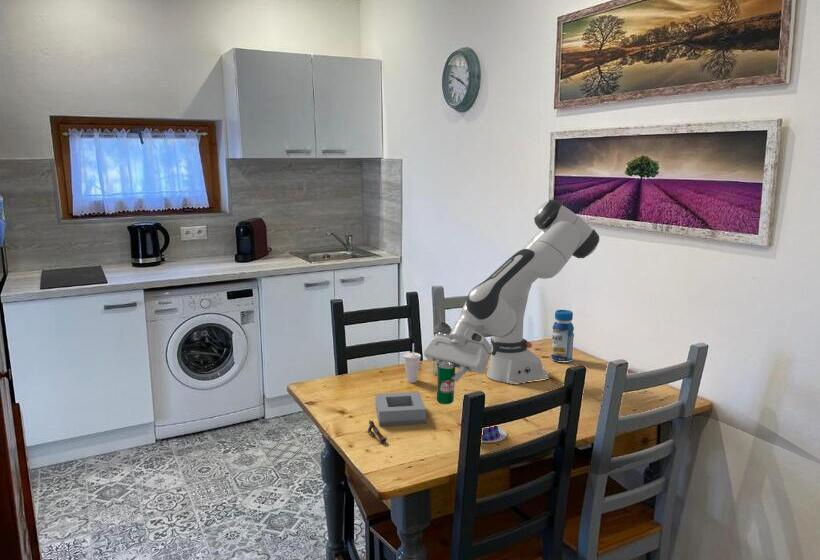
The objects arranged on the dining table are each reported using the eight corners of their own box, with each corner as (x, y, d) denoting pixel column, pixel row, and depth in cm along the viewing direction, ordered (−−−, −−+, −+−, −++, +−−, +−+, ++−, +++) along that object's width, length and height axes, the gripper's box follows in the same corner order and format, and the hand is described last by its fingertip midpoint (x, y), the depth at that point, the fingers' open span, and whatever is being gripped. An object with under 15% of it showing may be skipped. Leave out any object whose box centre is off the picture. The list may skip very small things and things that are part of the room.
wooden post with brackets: (369, 428, 176) (372, 417, 174) (383, 448, 171) (387, 437, 169) (364, 430, 175) (367, 419, 173) (378, 450, 170) (382, 439, 167)
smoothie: (413, 385, 212) (413, 347, 210) (399, 381, 216) (399, 343, 213) (424, 380, 217) (424, 342, 215) (410, 376, 221) (410, 339, 218)
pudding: (480, 423, 182) (480, 406, 181) (514, 434, 175) (515, 417, 174) (456, 436, 173) (457, 419, 172) (491, 449, 166) (492, 431, 165)
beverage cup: (448, 364, 233) (449, 315, 230) (430, 362, 236) (431, 313, 232) (453, 359, 240) (454, 310, 236) (436, 357, 243) (436, 309, 239)
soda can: (439, 405, 174) (441, 366, 172) (434, 399, 179) (435, 360, 177) (456, 404, 175) (458, 365, 173) (450, 398, 180) (452, 359, 178)
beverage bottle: (576, 363, 235) (579, 313, 232) (556, 364, 234) (558, 314, 230) (566, 356, 243) (568, 308, 240) (547, 357, 242) (549, 309, 238)
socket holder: (418, 404, 195) (418, 391, 194) (425, 423, 181) (425, 409, 181) (375, 407, 193) (375, 394, 192) (379, 425, 180) (379, 411, 179)
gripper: (431, 326, 185) (412, 364, 179) (489, 339, 173) (470, 380, 167) (439, 336, 189) (420, 374, 184) (496, 350, 177) (478, 391, 171)
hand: (445, 377), depth 175 cm, fingers closed on soda can, 5 cm apart
